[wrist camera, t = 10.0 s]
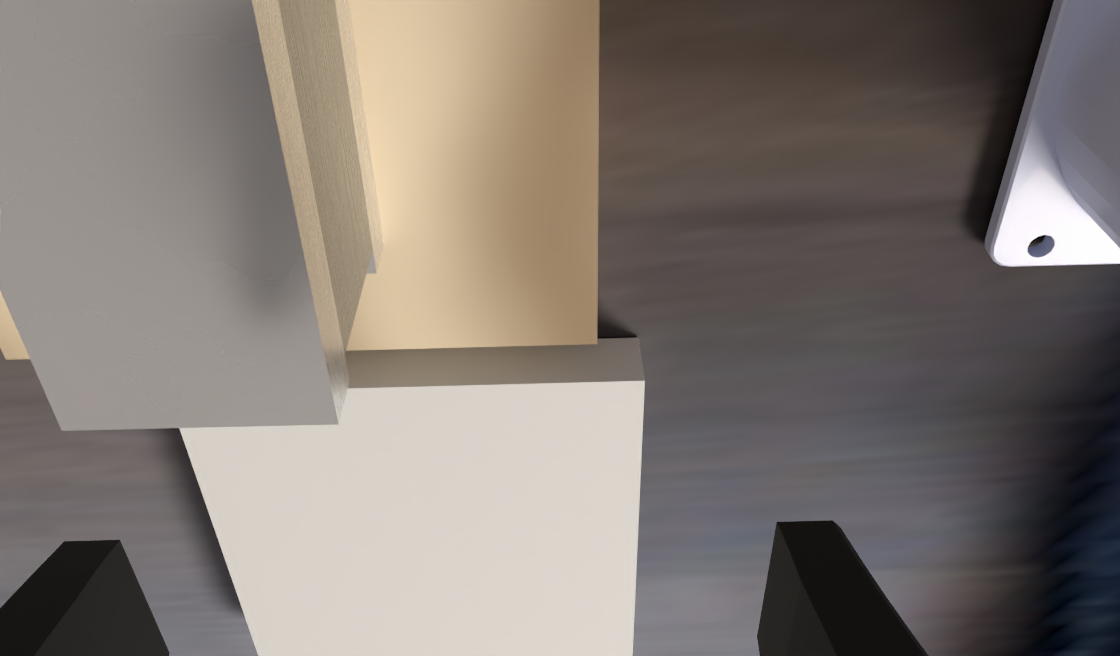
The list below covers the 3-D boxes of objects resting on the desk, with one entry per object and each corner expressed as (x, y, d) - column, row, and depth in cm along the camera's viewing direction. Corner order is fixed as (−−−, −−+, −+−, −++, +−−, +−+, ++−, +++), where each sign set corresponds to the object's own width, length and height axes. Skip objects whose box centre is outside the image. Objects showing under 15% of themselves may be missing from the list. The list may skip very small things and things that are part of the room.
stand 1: (596, -398, 13) (602, -401, 12) (593, 301, 20) (597, 344, 19) (-260, -379, 13) (-340, -379, 12) (37, 316, 20) (5, 359, 19)
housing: (383, 244, 18) (338, 424, 14) (169, 248, 18) (61, 430, 14) (323, -175, 14) (233, -92, 10) (43, -169, 14) (-165, -84, 10)
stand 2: (638, 337, 21) (644, 380, 20) (628, 617, 27) (631, 664, 26) (188, 349, 21) (166, 393, 20) (276, 627, 27) (264, 673, 26)
